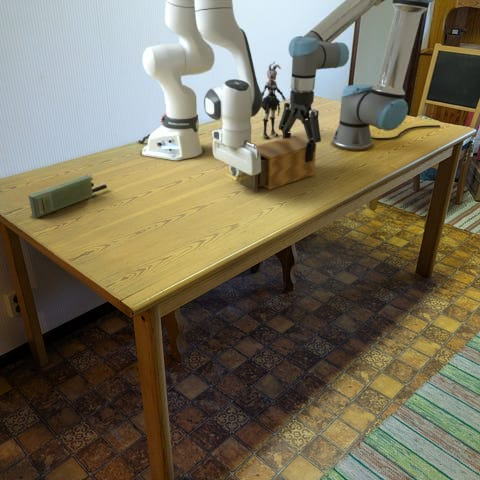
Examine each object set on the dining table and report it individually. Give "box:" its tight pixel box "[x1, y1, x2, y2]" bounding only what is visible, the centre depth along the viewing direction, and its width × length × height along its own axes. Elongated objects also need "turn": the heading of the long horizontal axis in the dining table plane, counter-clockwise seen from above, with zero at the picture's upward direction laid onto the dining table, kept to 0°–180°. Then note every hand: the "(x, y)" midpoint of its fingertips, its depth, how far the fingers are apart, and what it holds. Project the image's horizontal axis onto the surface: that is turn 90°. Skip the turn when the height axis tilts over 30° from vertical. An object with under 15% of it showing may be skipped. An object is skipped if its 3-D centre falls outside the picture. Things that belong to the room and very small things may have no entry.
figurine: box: [261, 61, 287, 140], centre depth 201 cm, size 15×6×30 cm, turn 132°
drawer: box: [226, 156, 269, 191], centre depth 163 cm, size 24×9×9 cm, turn 127°
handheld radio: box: [28, 173, 108, 219], centre depth 150 cm, size 7×3×25 cm
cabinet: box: [256, 135, 317, 190], centre depth 168 cm, size 20×11×11 cm, turn 127°
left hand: (236, 179), depth 159 cm, fingers closed, pressing on drawer
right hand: (297, 156), depth 171 cm, fingers closed on cabinet, 11 cm apart
